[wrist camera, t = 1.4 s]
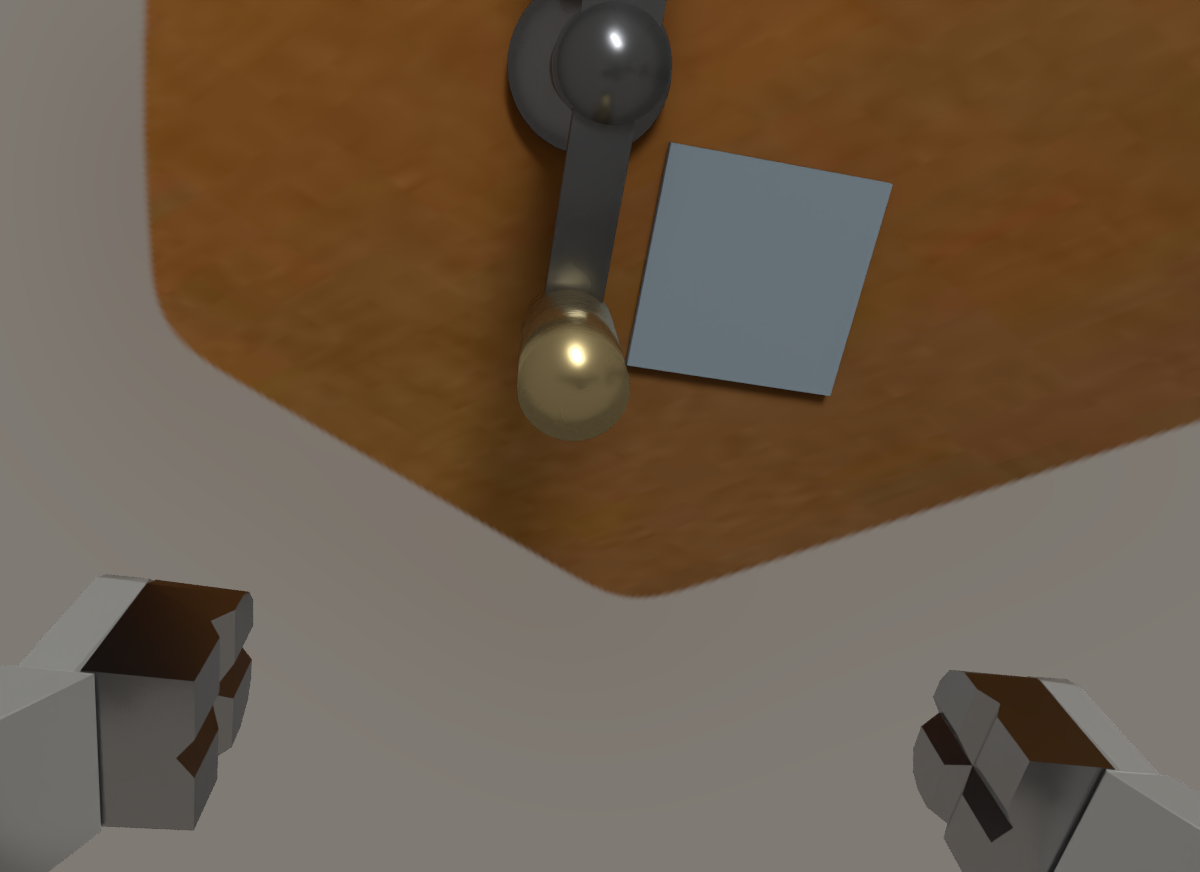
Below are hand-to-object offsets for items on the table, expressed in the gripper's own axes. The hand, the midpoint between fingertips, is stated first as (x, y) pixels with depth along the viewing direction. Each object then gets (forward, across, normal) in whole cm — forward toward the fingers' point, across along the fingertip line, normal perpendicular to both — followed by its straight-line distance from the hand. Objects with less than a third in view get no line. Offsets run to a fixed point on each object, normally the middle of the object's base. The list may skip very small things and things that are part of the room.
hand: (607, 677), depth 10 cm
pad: (+26, -8, 0) cm, 28 cm away
